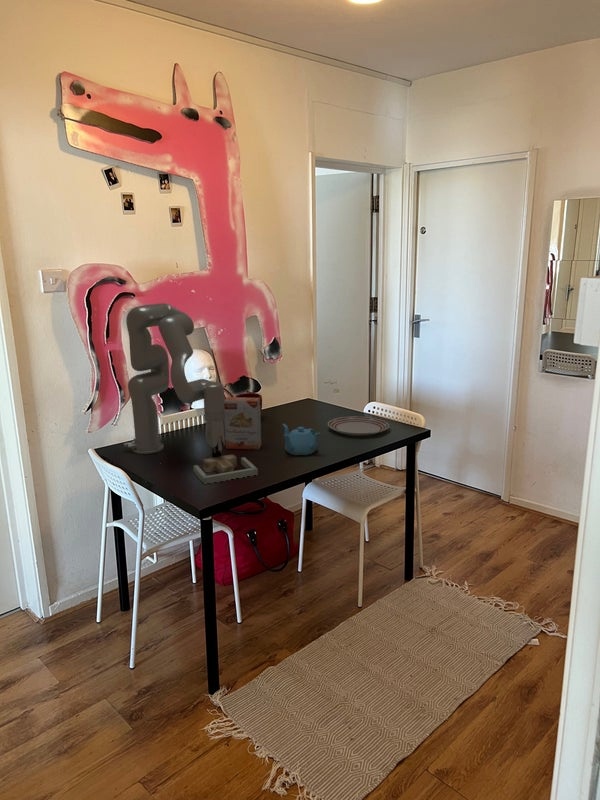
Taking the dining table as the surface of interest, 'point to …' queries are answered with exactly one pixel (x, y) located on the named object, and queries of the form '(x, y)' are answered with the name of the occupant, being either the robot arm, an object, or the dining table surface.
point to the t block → (220, 464)
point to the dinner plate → (358, 425)
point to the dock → (249, 471)
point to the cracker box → (242, 423)
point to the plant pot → (252, 395)
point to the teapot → (300, 441)
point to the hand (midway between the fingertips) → (217, 461)
